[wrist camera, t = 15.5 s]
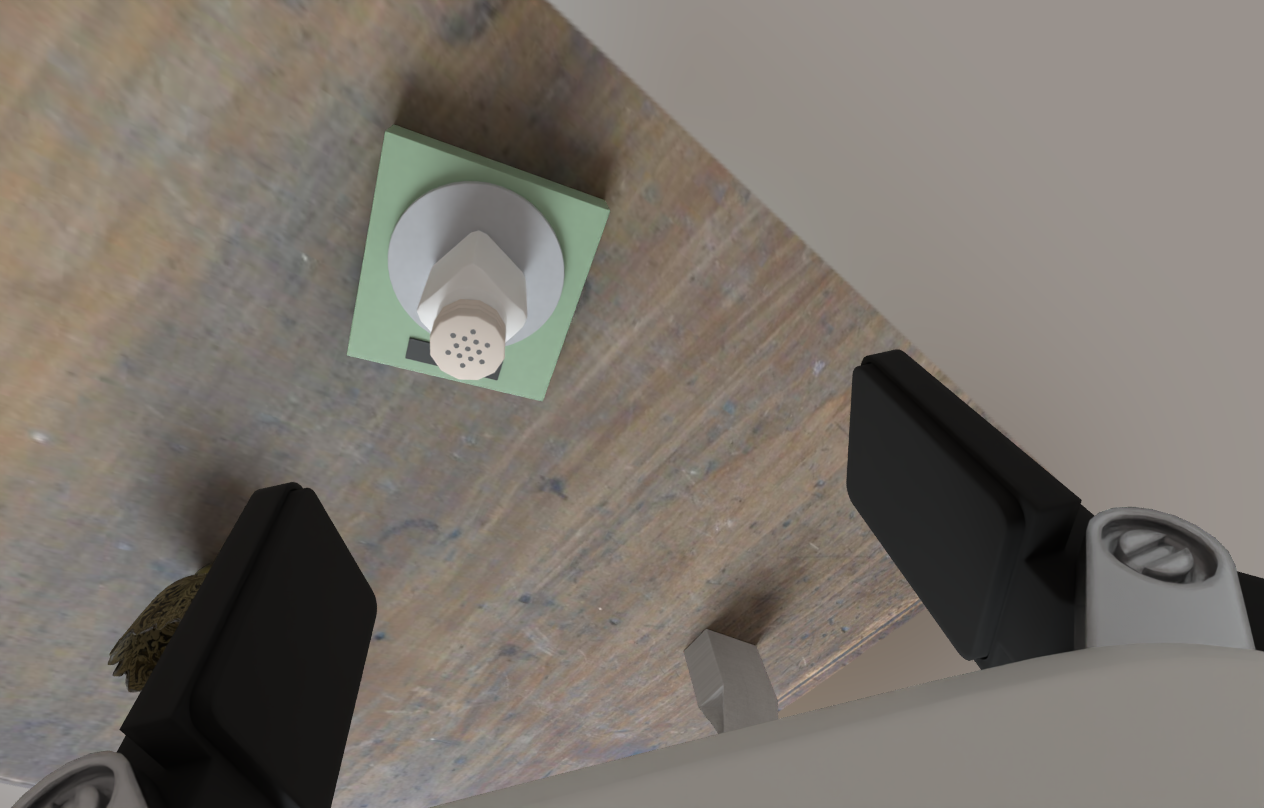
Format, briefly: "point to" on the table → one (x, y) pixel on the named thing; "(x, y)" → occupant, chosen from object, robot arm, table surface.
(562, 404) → the table surface
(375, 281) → the kitchen scale
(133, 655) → the cup
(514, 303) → the pepper shaker
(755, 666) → the grey upright carton
